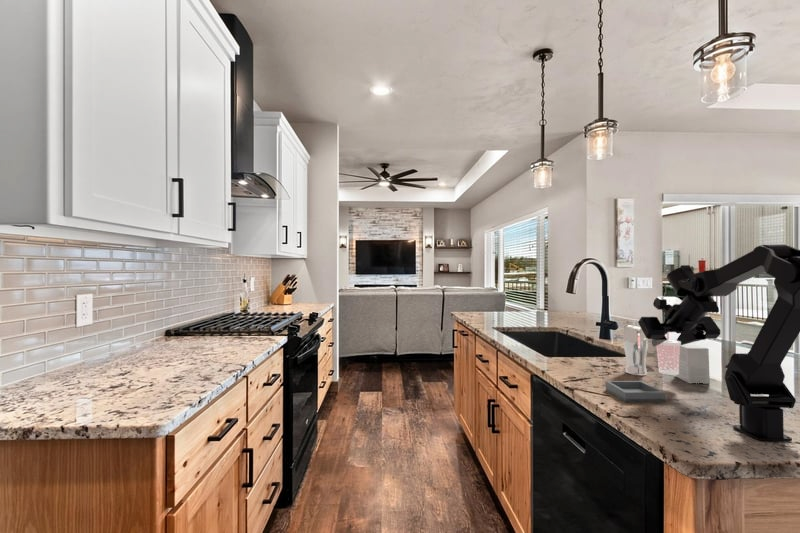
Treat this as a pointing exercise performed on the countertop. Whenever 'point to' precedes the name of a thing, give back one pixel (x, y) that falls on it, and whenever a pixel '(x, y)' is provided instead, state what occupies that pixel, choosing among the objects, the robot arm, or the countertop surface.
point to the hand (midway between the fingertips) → (664, 344)
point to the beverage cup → (668, 356)
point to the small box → (694, 364)
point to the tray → (635, 391)
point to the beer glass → (635, 350)
